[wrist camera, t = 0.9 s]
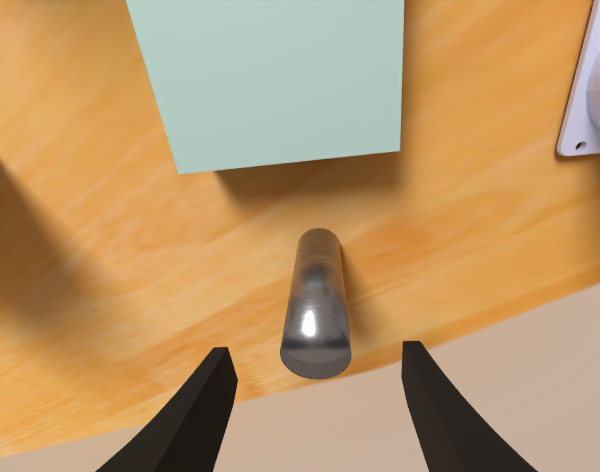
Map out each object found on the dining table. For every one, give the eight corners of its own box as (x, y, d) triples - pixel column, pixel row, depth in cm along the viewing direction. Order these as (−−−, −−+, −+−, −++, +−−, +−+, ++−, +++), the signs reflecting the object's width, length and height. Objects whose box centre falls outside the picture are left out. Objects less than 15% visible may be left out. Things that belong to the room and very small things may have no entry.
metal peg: (338, 226, 20) (349, 327, 11) (341, 264, 21) (352, 378, 13) (295, 230, 20) (274, 329, 12) (300, 266, 22) (285, 380, 13)
